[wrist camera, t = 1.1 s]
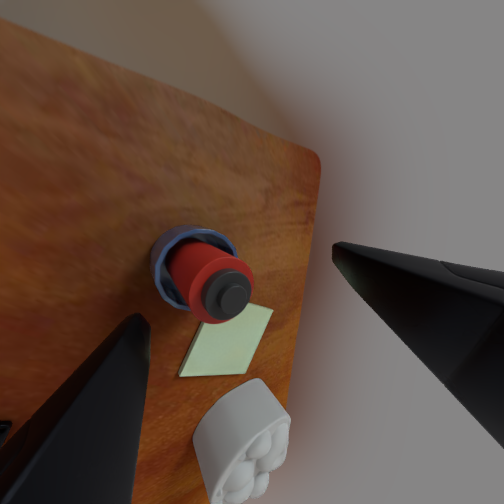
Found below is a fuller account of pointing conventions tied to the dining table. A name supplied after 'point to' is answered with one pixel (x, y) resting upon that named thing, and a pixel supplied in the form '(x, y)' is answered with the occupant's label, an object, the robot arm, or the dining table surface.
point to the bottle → (209, 280)
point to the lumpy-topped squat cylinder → (241, 443)
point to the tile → (226, 344)
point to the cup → (161, 249)
